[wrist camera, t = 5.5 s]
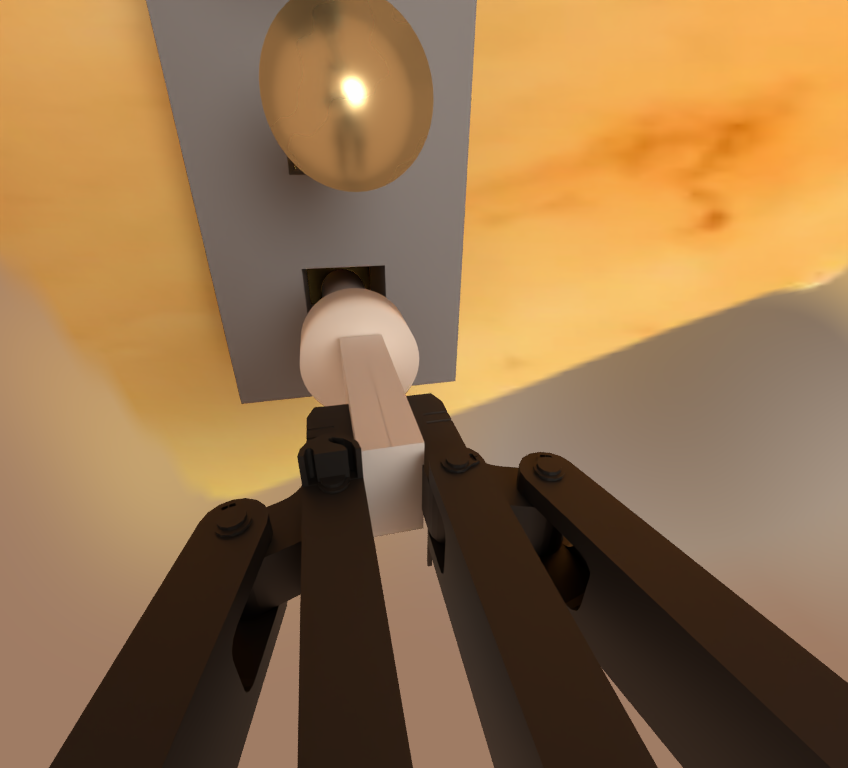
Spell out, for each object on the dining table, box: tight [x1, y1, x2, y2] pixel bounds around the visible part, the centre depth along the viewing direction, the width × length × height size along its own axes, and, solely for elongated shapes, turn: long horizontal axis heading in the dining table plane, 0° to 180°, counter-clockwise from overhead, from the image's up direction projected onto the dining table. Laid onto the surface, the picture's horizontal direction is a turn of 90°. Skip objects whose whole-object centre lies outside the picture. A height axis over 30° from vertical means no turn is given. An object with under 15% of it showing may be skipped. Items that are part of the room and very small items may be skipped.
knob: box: [300, 269, 419, 406], centre depth 20 cm, size 4×4×10 cm
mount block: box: [146, 0, 477, 404], centre depth 20 cm, size 12×26×7 cm, turn 179°
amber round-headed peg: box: [259, 0, 434, 192], centre depth 14 cm, size 4×4×10 cm
